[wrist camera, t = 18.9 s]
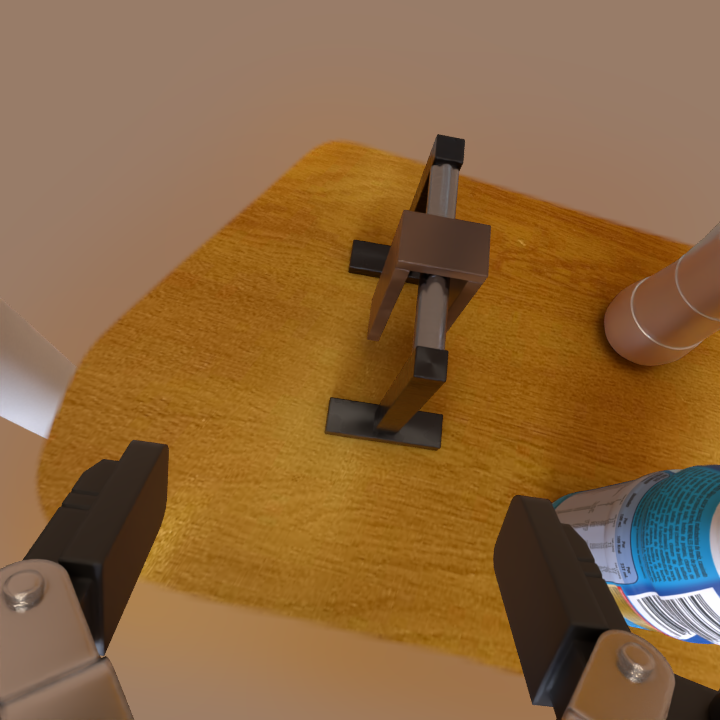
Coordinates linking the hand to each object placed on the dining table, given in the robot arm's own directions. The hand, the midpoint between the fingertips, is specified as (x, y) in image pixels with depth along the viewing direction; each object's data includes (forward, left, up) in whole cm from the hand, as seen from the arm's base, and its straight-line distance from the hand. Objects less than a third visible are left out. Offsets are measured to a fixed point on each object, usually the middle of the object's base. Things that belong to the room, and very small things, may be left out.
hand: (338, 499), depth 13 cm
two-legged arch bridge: (+5, +14, -22) cm, 27 cm away
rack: (+4, +14, -26) cm, 30 cm away
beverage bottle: (+19, +1, -26) cm, 32 cm away
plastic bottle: (+23, +18, -26) cm, 39 cm away
